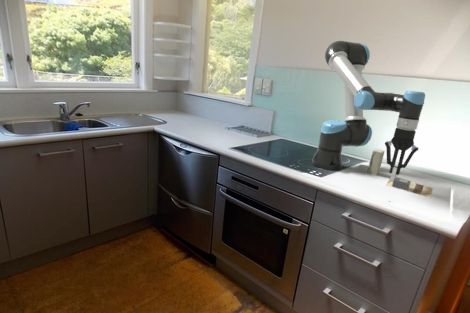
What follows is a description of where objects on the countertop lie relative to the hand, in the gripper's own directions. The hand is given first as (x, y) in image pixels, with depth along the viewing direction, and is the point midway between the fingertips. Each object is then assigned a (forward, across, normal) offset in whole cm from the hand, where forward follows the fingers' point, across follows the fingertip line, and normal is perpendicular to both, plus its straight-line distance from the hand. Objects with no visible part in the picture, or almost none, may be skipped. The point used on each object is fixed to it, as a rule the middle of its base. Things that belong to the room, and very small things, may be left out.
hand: (392, 180), depth 128 cm
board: (+3, +7, +4) cm, 9 cm away
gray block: (+2, +4, 0) cm, 4 cm away
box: (+3, -10, +10) cm, 15 cm away
